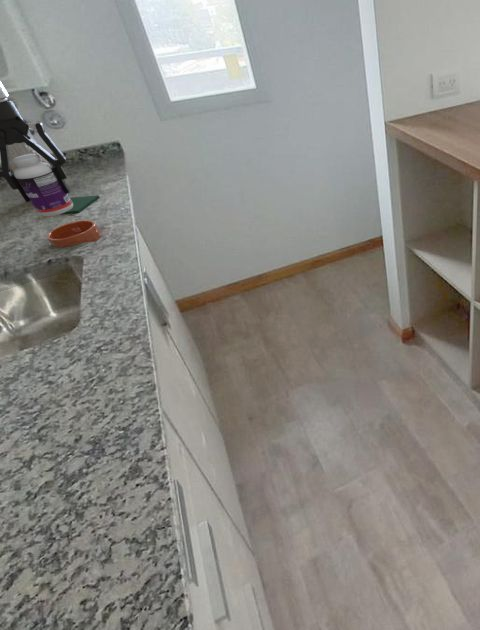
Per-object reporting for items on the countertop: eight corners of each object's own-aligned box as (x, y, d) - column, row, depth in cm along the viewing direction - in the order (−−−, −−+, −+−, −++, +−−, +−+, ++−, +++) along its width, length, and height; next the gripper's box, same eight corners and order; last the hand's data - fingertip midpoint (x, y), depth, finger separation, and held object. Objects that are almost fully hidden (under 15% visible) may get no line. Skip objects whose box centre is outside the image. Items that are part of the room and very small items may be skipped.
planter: (29, 205, 147) (-17, 135, 133) (36, 195, 155) (-7, 128, 141) (63, 198, 150) (21, 129, 136) (69, 189, 158) (29, 122, 143)
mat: (42, 215, 140) (40, 213, 139) (65, 200, 149) (64, 198, 149) (78, 213, 139) (77, 210, 139) (99, 197, 149) (98, 195, 148)
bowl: (44, 253, 119) (36, 241, 117) (70, 232, 128) (64, 221, 126) (86, 249, 118) (79, 238, 116) (109, 229, 128) (103, 218, 126)
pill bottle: (35, 214, 117) (-1, 160, 108) (67, 203, 122) (36, 150, 113) (47, 220, 113) (12, 164, 104) (80, 208, 118) (49, 154, 109)
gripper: (-72, 112, 94) (-3, 211, 108) (42, 96, 102) (93, 190, 116) (-63, 107, 100) (2, 201, 114) (45, 91, 107) (93, 181, 121)
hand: (48, 195), depth 115 cm, fingers closed on pill bottle, 8 cm apart
